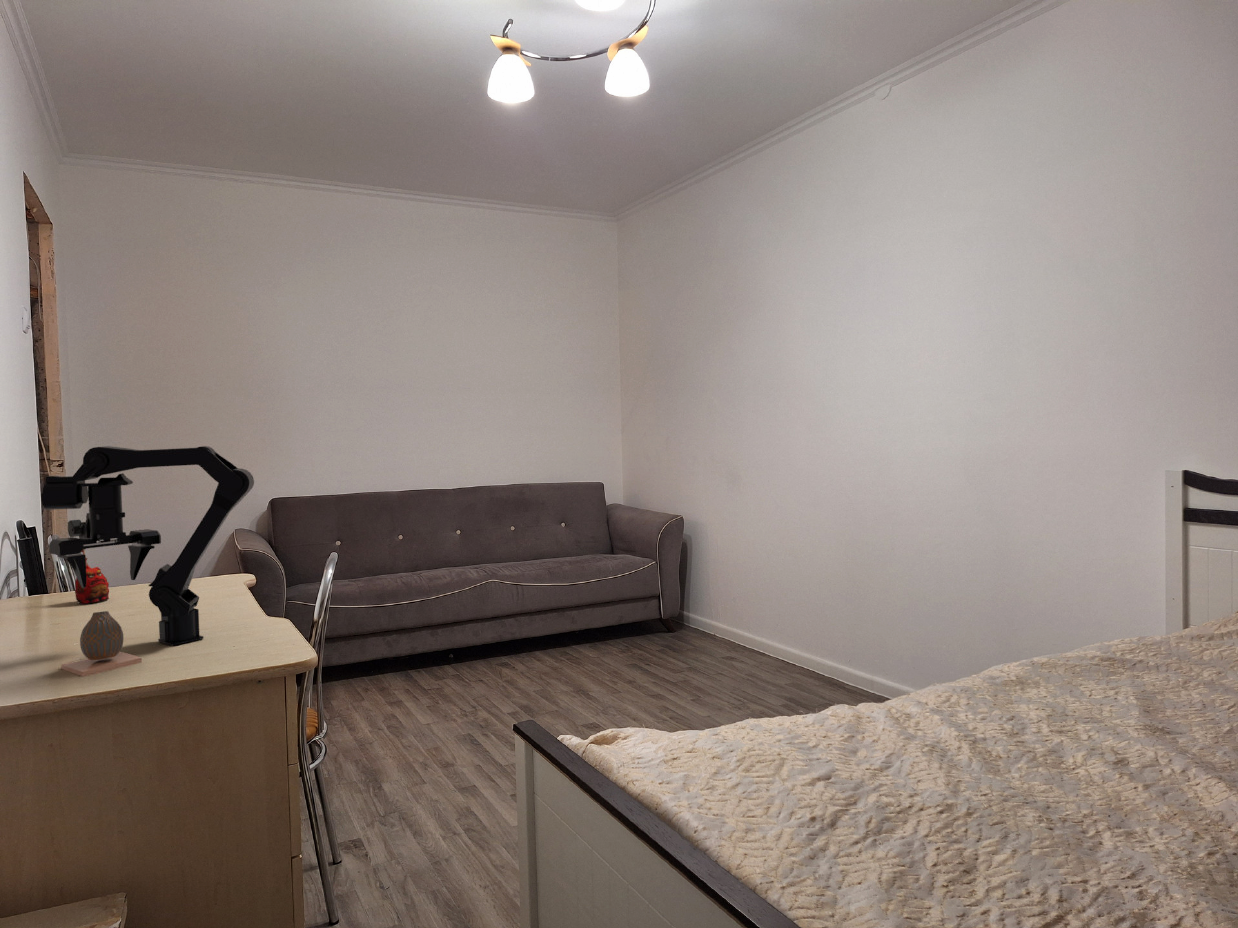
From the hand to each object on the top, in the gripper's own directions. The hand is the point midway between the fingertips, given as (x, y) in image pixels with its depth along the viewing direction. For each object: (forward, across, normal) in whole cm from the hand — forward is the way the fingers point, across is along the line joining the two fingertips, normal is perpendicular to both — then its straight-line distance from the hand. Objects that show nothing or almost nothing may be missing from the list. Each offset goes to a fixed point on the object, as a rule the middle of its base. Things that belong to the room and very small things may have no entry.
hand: (108, 583), depth 163 cm
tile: (+13, +7, +8) cm, 17 cm away
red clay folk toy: (+13, -16, -51) cm, 55 cm away
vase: (+12, +7, +13) cm, 19 cm away
